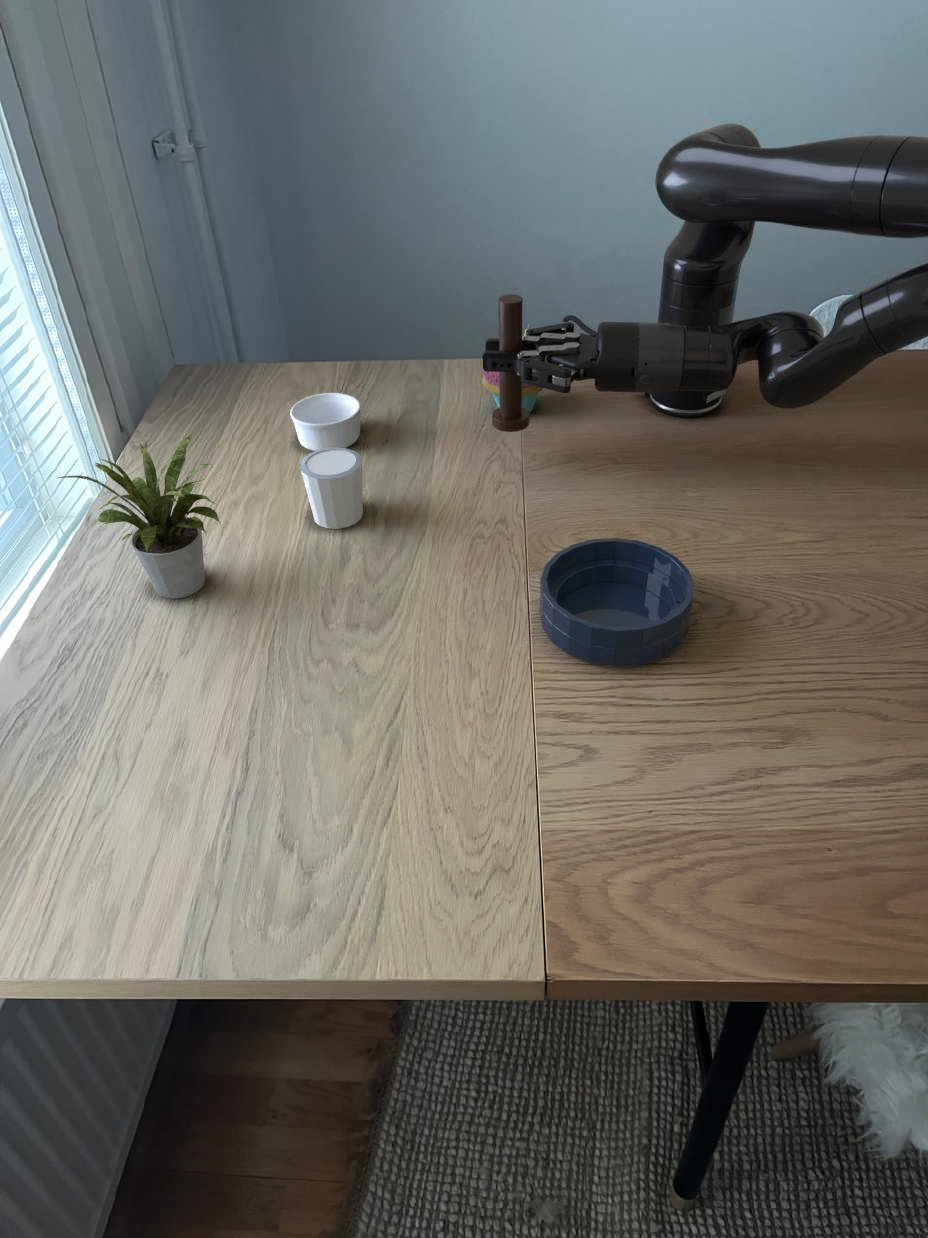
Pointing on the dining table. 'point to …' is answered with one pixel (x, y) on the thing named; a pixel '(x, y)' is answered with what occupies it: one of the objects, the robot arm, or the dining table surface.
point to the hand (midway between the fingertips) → (485, 354)
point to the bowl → (616, 601)
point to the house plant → (162, 523)
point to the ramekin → (327, 421)
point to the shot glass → (334, 486)
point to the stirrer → (510, 384)
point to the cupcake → (527, 390)
